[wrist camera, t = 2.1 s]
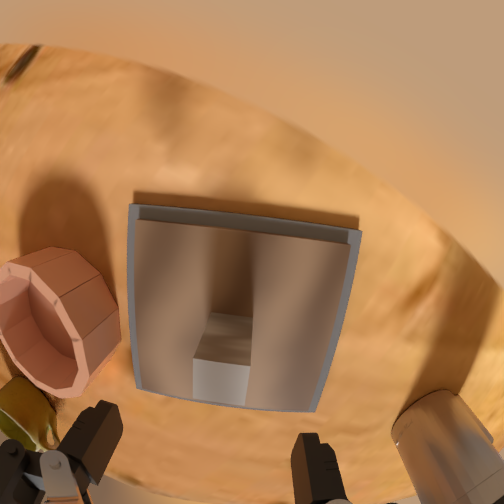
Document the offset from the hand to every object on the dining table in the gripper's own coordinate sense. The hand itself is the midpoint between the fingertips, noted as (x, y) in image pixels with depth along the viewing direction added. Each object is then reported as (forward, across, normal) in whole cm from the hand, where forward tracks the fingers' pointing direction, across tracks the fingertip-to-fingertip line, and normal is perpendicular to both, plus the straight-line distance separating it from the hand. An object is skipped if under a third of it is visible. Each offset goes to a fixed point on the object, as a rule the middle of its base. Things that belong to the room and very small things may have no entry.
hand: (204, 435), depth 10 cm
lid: (+11, 0, 0) cm, 11 cm away
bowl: (+12, +16, +2) cm, 20 cm away
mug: (+12, +26, +20) cm, 35 cm away
